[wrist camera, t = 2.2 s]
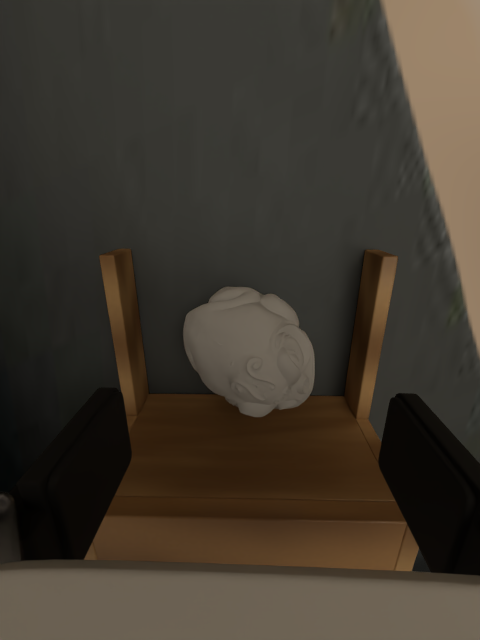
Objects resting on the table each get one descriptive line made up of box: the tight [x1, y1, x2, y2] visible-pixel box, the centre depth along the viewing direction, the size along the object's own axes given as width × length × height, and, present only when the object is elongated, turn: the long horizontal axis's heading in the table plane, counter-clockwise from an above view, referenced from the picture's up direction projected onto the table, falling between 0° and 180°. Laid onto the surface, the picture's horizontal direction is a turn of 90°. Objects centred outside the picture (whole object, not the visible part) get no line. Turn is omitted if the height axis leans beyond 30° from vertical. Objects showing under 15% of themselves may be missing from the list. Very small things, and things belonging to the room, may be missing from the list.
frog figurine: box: [183, 287, 315, 417], centre depth 16 cm, size 6×7×7 cm
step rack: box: [84, 249, 419, 571], centre depth 16 cm, size 20×15×10 cm
